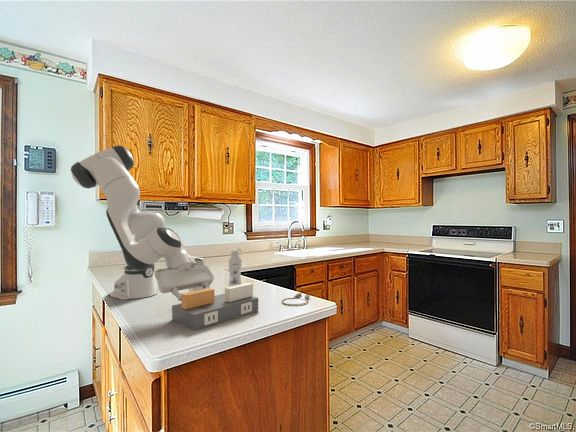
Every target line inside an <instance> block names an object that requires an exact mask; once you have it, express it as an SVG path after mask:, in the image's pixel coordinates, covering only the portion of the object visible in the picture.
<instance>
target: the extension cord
mask: <svg viewBox="0 0 576 432" xmlns="http://www.w3.org/2000/svg"><path fill="white" fill-rule="evenodd" d="M302 296H303V295H302V292H299V293H296V294H295V295H294V297H287V298H284V299H282V300H281V304H283V305H285V306H288V307H299V306H304V305H305V306H306V305H308V304H309V299H310V295H309V294H305V295H304V299H303V298H300V297H302ZM286 300H302V301H305V302H303V303H285V302H284V301H286Z"/></svg>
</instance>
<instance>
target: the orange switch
mask: <svg viewBox="0 0 576 432" xmlns="http://www.w3.org/2000/svg"><path fill="white" fill-rule="evenodd" d="M181 294H182V301H181V303H182V308H184V309H190V308H194V307H198V306H202V305H206V304H210V303H214V296H215V289H214V288H211V287H210V288H208V289H203V290H198V291H193V292H189V291H188V292H184V293H181Z"/></svg>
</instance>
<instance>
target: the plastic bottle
mask: <svg viewBox="0 0 576 432" xmlns="http://www.w3.org/2000/svg"><path fill="white" fill-rule="evenodd" d="M230 255H231V256H230V257H229V259H228V268H229V269H228V271H229V278H228V279H229V280H228V286H227V287H231V286H235V285H240V284H243V283H242V277H241V275H242V273H241V272H242V266H243V265H242V263H243V261H242V259H241V257H240V256H239V255H240V250H238V249H237V250H231V252H230Z"/></svg>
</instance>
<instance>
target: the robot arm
mask: <svg viewBox="0 0 576 432" xmlns="http://www.w3.org/2000/svg"><path fill="white" fill-rule="evenodd" d="M133 157H134V156H133V154H132V153H131V152H130V151H129V150H128V149H127V148H126V147H125V146H122V145H121V144H120V145H115V146H111V147H110V148H107V149H103V150H100V151H97V152H95V153H94V154H92V155H90V156H87V157H86V158H84V159H82V160H81V161H77V162H75V163H74V164H72V165H71V167H70V173H71V177H72V179H73V180H74V182H75V183H76V184H77V185H79V186H81V187H82V188H84V189H92V188H95V187H96V186H99V189H100V190H101V192H102V193H103V195H104V196H105V198H106V202H107V203H106V204H107V207H106V208H107V209H106V210H105V211H106V212H105V215H106V217H107V219H108V222H109V225H110V227H111V229H112V231H113V233H114V235H115V238H116V240H117V241H118V244H119V246H120V248H121V252H122V253H123V254H122V255H123V258H124V262H125V263H126V265H125V267H123V270H124V272H123V274H122V275H121V276H120V277H119V278H118V279H117V280H116V281H114V283H113V290H112V291H110V292H108V293H107V296H109V295H110V296H109V297H112V298H116V299H118V300H122V301H124V300H133V299H142V298H148V297H149V298H150V297H151V296H155V295H157V294H158V291H159V292H160V293H162V294H168V293H171V294H172V295H173V296H174V297H175V298H176V299H177V300H178V302H182V294H183V293H180V291H183V290H184V291H185V290H189V289H190V288H195V287H201V286H202V288H204V289H207V286H208V285H210V286H211V284H213V282H214V280H215V276H214V274H213V272H212V271H211V268H210V267H209V266H208V265H206V264H205V263H206V261H205V259H204V258H200V257H195V256H192V255H190V254H189V253H188V251H187V248H186V246H185V243H184V240H182V238H181V236H180V235H179V234H178V232H176V231H175V230H173V229H171V228H167V227H166V219H165V218H164V216H163V215H162V214H161V213H157V212H154V211H141V210H139V208H138V202H139V200H140V197H141V190H140V187H139V185H138V183H137V182H136V181H135V179H134V177H133V175H131V173H130V172H129V171H130V170H131V169H132V168H133V167H134V166H135V162H134V158H133ZM162 258H164V260H165V265H166V267H165V268H158V269H157V270H155V263H156V262H158V261H159V260H160V259H162ZM156 280H157V282H156ZM157 287H158V288H157Z"/></svg>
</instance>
